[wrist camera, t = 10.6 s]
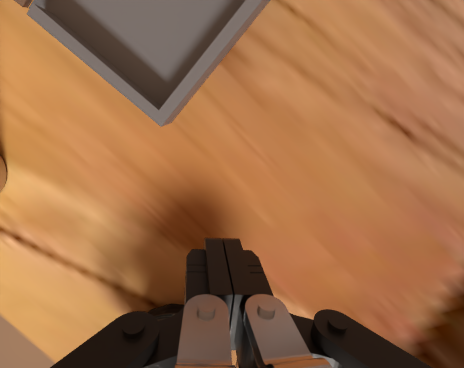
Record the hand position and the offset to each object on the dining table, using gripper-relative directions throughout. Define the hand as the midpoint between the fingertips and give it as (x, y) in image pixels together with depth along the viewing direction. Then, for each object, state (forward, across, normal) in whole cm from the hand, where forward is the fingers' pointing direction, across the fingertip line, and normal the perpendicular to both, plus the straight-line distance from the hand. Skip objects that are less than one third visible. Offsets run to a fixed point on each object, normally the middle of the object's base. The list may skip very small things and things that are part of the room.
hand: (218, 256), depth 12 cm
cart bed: (+27, +5, -16) cm, 32 cm away
